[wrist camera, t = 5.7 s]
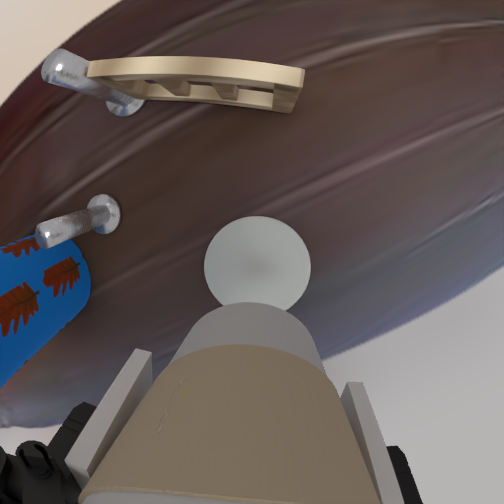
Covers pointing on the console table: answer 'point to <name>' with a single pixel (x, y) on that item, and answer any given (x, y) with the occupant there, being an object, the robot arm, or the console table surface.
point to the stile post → (81, 222)
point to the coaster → (257, 263)
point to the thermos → (37, 297)
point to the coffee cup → (237, 423)
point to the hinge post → (86, 82)
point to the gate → (202, 80)
